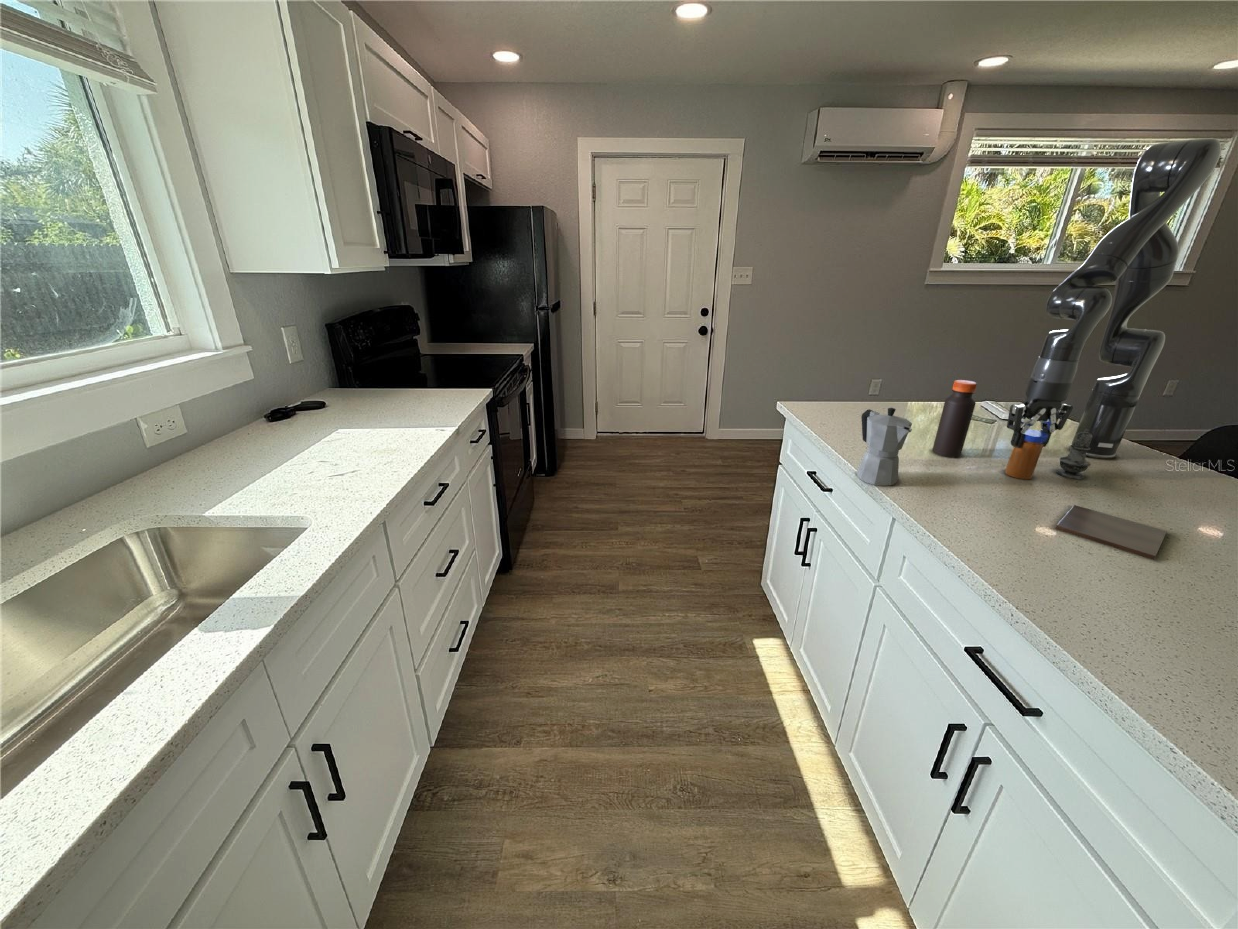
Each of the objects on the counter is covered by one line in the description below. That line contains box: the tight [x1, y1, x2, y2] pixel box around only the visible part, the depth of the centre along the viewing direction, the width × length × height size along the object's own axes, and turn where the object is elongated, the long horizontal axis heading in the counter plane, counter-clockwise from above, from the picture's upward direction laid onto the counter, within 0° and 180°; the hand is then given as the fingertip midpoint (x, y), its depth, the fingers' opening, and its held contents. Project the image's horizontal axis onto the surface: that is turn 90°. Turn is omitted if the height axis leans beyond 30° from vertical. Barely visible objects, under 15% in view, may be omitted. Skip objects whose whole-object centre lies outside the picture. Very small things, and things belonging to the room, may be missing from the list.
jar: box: [1004, 440, 1044, 480], centre depth 120 cm, size 5×5×10 cm
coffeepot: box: [855, 407, 913, 487], centre depth 118 cm, size 15×9×18 cm, turn 13°
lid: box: [1024, 428, 1048, 443], centre depth 118 cm, size 6×6×2 cm
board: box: [1054, 504, 1167, 560], centre depth 97 cm, size 14×14×1 cm
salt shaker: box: [1055, 429, 1092, 480], centre depth 120 cm, size 6×6×12 cm
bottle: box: [932, 379, 978, 458], centre depth 132 cm, size 7×7×20 cm
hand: (1027, 446), depth 119 cm, fingers closed on lid, 6 cm apart
